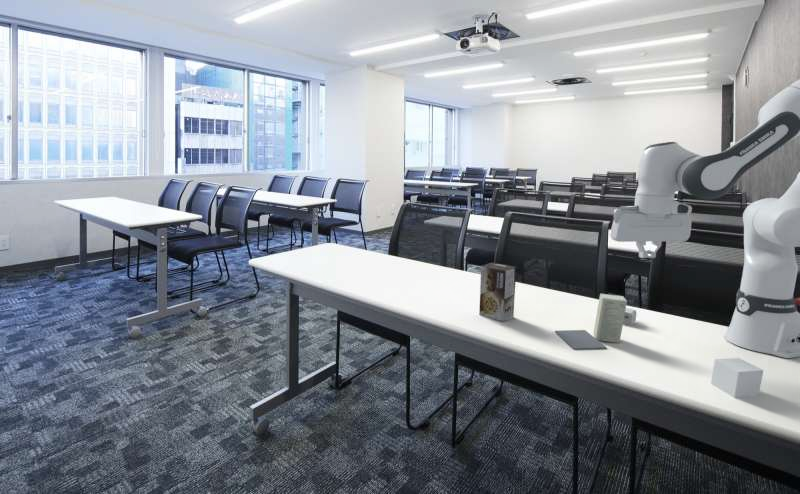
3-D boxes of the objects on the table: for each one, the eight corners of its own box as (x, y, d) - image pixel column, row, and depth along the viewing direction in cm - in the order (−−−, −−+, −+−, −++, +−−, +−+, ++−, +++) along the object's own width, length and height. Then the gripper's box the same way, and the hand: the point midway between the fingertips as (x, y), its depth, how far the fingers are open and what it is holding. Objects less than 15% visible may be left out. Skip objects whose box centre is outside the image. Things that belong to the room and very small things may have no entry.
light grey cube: (758, 396, 97) (763, 370, 95) (734, 398, 96) (738, 372, 94) (734, 382, 102) (738, 357, 101) (710, 384, 102) (714, 359, 100)
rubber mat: (584, 331, 131) (584, 330, 131) (606, 348, 119) (606, 347, 119) (554, 331, 130) (554, 330, 130) (573, 349, 118) (573, 348, 118)
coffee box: (514, 316, 142) (517, 266, 139) (503, 322, 137) (506, 270, 134) (489, 309, 148) (491, 261, 145) (478, 314, 144) (480, 265, 140)
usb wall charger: (616, 323, 138) (618, 310, 137) (623, 317, 143) (625, 305, 142) (631, 326, 135) (632, 313, 134) (637, 320, 140) (639, 308, 139)
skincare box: (616, 337, 127) (624, 296, 124) (619, 343, 122) (628, 301, 120) (592, 333, 128) (599, 292, 125) (595, 339, 124) (602, 297, 121)
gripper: (621, 207, 115) (616, 260, 117) (698, 207, 116) (690, 259, 119) (608, 204, 121) (603, 255, 124) (681, 204, 122) (674, 254, 125)
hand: (646, 257), depth 121 cm, fingers closed
